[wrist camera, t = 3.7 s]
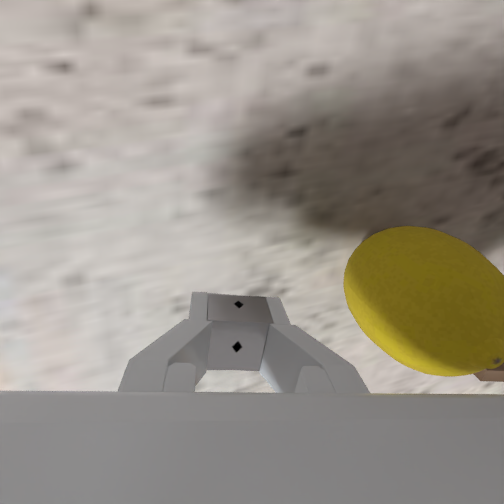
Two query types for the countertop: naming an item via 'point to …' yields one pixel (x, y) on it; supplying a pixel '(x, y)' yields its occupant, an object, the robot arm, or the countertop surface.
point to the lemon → (428, 300)
